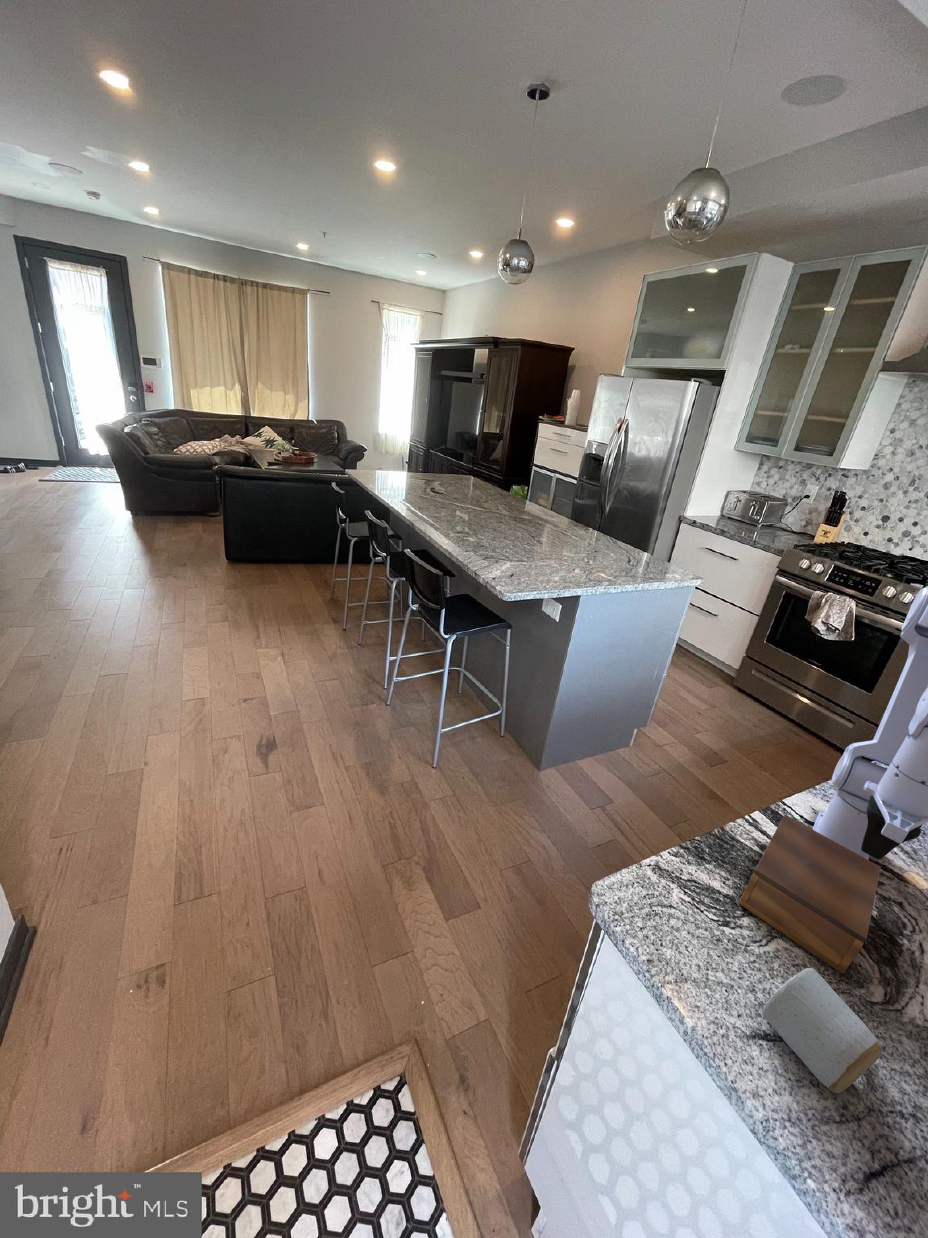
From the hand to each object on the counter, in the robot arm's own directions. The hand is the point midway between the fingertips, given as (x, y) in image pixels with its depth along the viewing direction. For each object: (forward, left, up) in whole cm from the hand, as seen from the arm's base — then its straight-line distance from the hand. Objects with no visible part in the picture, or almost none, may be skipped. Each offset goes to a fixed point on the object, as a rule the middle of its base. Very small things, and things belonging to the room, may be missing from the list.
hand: (870, 852), depth 69 cm
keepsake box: (+4, -4, -10) cm, 12 cm away
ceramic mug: (+24, +1, -11) cm, 26 cm away
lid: (+4, -4, -5) cm, 7 cm away
